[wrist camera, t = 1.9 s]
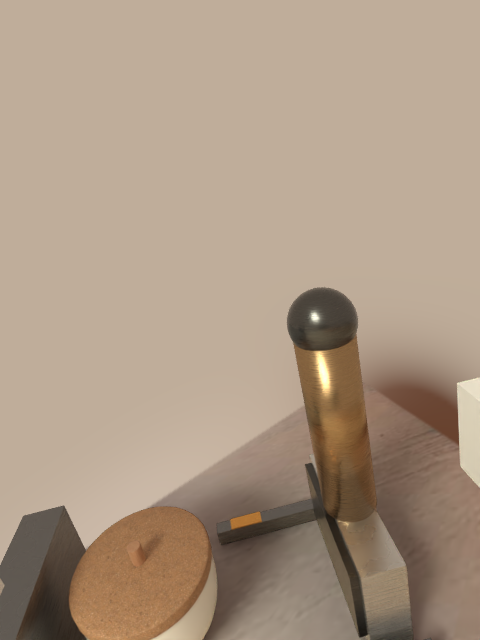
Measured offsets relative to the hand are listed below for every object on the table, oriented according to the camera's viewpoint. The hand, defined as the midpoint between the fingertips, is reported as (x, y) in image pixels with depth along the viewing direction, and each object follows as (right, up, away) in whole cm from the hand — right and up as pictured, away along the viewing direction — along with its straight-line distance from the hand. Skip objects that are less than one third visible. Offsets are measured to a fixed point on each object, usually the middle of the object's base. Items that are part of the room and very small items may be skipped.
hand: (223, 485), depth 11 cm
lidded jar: (-5, -21, +24) cm, 32 cm away
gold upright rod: (+10, -17, +24) cm, 31 cm away
